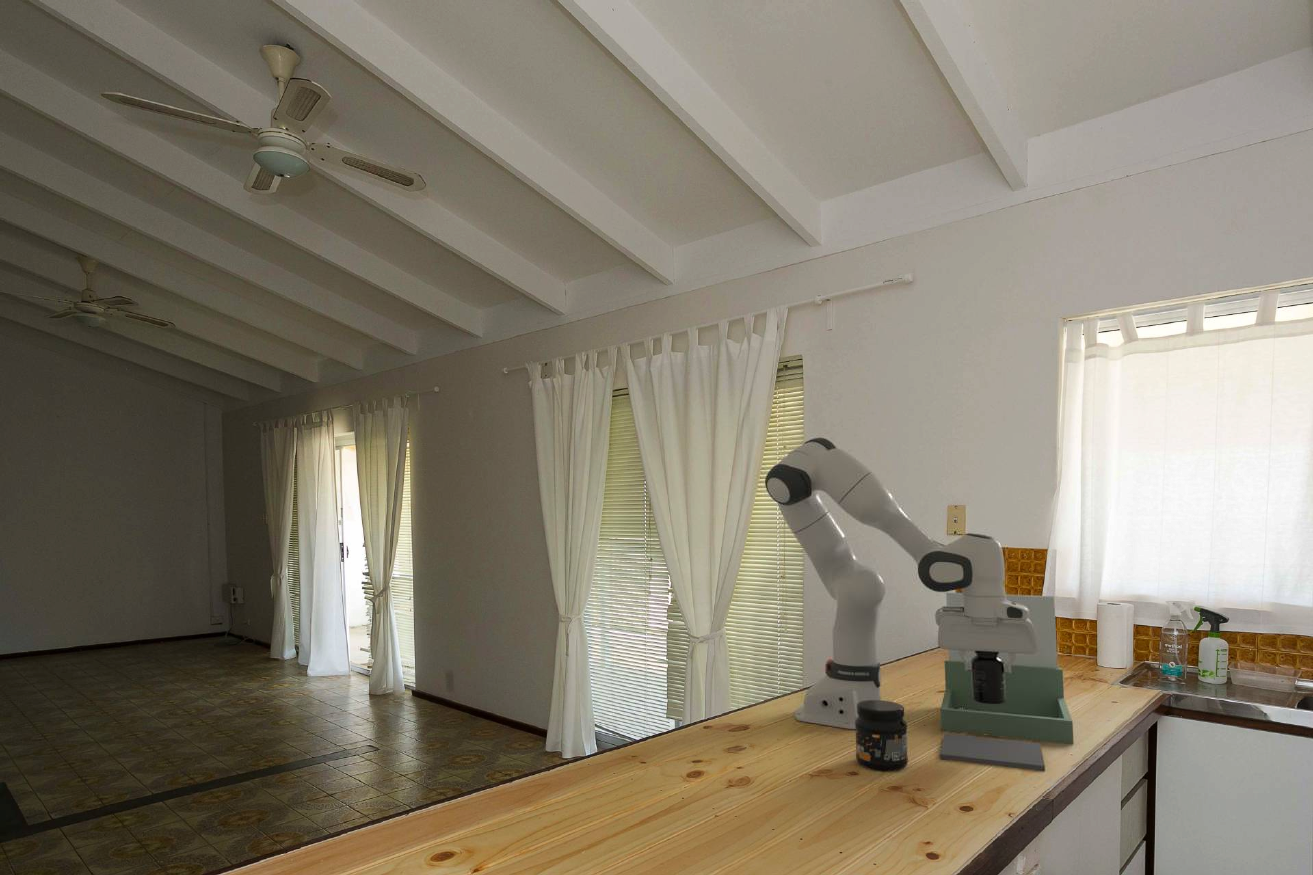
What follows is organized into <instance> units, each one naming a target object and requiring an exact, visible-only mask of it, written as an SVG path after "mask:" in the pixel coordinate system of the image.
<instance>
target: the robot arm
mask: <svg viewBox="0 0 1313 875" xmlns="http://www.w3.org/2000/svg"><path fill="white" fill-rule="evenodd" d="M764 485H765V489H766V492H767V493H768V495H769V497H770V498H771V499H773V501H775V502H776V503H777V506H778V508H779V511H780V513H781V515H782V517H783V519H784V521H785V523H786V524H787V526H788V527H789V529H790V531H791V533H792V534H793V535H794V537H795V538H796V541H797V542H798V543H799V545H800V546H801V548H802V549H803V550H804V553H805V554H806V555H807V556H808V558H809V560H810V561H811V562H810V563H812V565H813V567H814V569H815V571H816V573H817V575H818V577H819V579H820V580H821V582H822V584H823V586H824V587H825V589H826V591H827V592H828V594H829V595H830V597H832V598H833V599H834V600H835V601H836V604H837V605H836V614H835V619H834V624H833V627H832V655H833V656H832V658H829V659H828V660H827V661H826V663H825V664H824V665H825V667H824V670H825V674H826V675H825V676H824V677H822V678H821V679H819V680H818V681H817V682H815V683H814V684H813V685H812V686H810V687H809V688H808V689H807V690H806V692H805V695H804V699H803V705H802V706H800V707H798V708H797V709H796V710H795V712H794V719H795V720H796V721H799V722H804V723H805V722H806V723H812V724H816V725H824V726H829V727H834V728H835V727H836V728H842V729H847V730H856V726H855V719H856V718H857V717H858V714H857V704H858V703H859V702H862V701H867V700H882V694H881V688H880V687H881V685H882V672H881V670H882V669H881V663H880V662H879V651H878V650H879V645H878V644H879V643H878V634H879V633H878V631H879V621H880V616H881V609H882V602H883V600H884V599H885V598H884V597H885V594H886V585H885V582H884V580H883V578H882V577H881V575H880V574H879V573H878V572H877V571H876V570H875V569H874V568H872V567H870V566H869V565H864V564H862V563H861V562H860V561H859V560H858V557H857V556H856V555H855V553H854V550H853V548H852V546H851V544H850V542H849V540H848V536H847V534H846V533H845V531H844V529H843V528H842V527H841V525H840V524H839V522H838V520H837V519H836V517H835V516H834V515H833V514H832V512H831V510H830V509H829V508H828V506H827V504H826V503H825V502H824V500H823V499H822V497H821V495H820V491H822V492H824V493H826V494H827V495H828V496H829V497H830V498H831V499H832V500H833V501H834V502H835V503H836V504H837V505H838V506H839V507H840V508H841V509H842V510H843V511H844V512H845V513H846V514H848V515H849V516H850V517H851V518H853V519H854V520H856V521H858V522H859V523H861V524H863V525H866V526H868V527H872V528H874V529H877V530H879V531H881V532H883V533H884V534H886V535H887V536H889V537H890V538H891V539H892V540H893V541H894V542H895V543H896V544H898V546H900V548H902V550H904V551H905V552H906V553H907V554H908V555H909V556H910V557H912V559H913V560H914V561H915V562H916V565H917V575H918V577H919V580H920V582H921V583H922V584H923V585H924V586H925V587H926V588H927V589H929V590H931V591H933V592H936V593H937V592H938V593H946V592H947V593H949V592H951V591H956V590H962V593H963V606H964V607H947V605H946V606H942V607H941V608H938V609H937V610H936V611H935V614H934V617H935V623H936V625H937V626H938V629H937V630H938V631H937V645H938V646H939V648H940V649H942V650H948V649H953V650H959V655H960V657H961V658H962V660H963V662H964V663H965V671H972V663H971V662H968V660H967V659H966V657H965V655H966V650H971V651H989V652H1007V653H1009V658H1011V659H1010V660H1009V662H1008V664H1004V673H1006V674H1011V666H1012V664H1013V663H1014V661H1015V659H1016V653H1024V654H1035V653H1036V652H1037V651H1038V644H1037V638H1036V633H1035V629H1034V626H1033V623H1032V622H1031V620H1030V619H1029V618H1028V617H1029V609H1028V608H1027V607H1026V606H1023V605H1020V604H1017V603H1014V602H1011V601H1008V600H1006V595H1007V594H1006V593H1007V592H1006V589H1005V585H1004V581H1005V576H1006V569H1005V568H1006V567H1005V558H1004V551H1003V548H1002V545H1001V542H999V540H997V539H996V538H995V537H992V536H990V535H985V534H980V533H973V532H971V533H970V532H968V533H964V534H963V535H962V536H960V537H959V538H957V539H956V540H954V541H952V542H949V543H947V544H942V543H939V542H937V541H936V540H934V539H933V538H932V537H930V536H929V535H928V534H927V533H926V532H925V531H924V530H922V529H921V528H920V527H919V526H918V525H917V524H916V523H915V522H914V521H912V520H911V519H910V517H908V515H906V514H905V512H904V511H903V510H902V508H901V507H900V505H899V504H898V502H897V501H896V499H895V497H894V496H893V494H891V492H890V490H889V489H888V488H887V487H886V485H885V484H884V483H883V481H881V479H880V478H879V477H878V476H877V475H876V474H875V473H874V472H872V471H871V470H870V469H869V468H868V467H867V466H866V465H865V464H863V463H862V462H861V461H860V460H858V459H857V458H856V457H854V456H853V455H851V454H850V453H848V452H846V451H845V450H843V449H841V448H837V446H835V444H833V442H831V440H829V439H827V438H824V437H815V438H811V439H809V440H807V441H805V442H804V443H803V444H802V445H799V446H798V447H796V448H794V449H792V450H791V451H790V452H789V453H788V454H787V455H786V456H785V457H784V458H783V459H782V460H781V461H779V462H778V463H777V464H775V465H773V466H772V467H771V469H770V470H769V471H768V472H767V474H766V476H765V479H764ZM948 611H952V612H948ZM963 612H964V614H963Z"/></svg>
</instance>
